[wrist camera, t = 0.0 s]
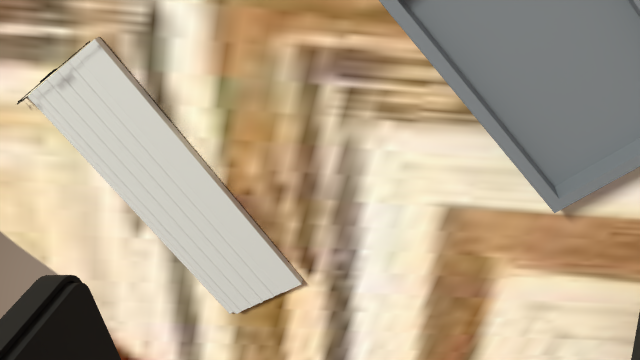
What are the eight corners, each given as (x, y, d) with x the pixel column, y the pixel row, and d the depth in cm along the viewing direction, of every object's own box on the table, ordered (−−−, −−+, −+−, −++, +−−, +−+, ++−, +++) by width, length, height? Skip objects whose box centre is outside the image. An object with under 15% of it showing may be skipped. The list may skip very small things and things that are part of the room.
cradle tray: (373, -18, 42) (370, -10, 40) (537, -165, 36) (545, -167, 33) (548, 195, 48) (554, 213, 46) (713, 102, 42) (730, 117, 40)
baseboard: (222, 312, 64) (304, 274, 59) (214, 330, 61) (299, 293, 56) (23, 100, 53) (102, 33, 49) (3, 111, 51) (85, 42, 46)
